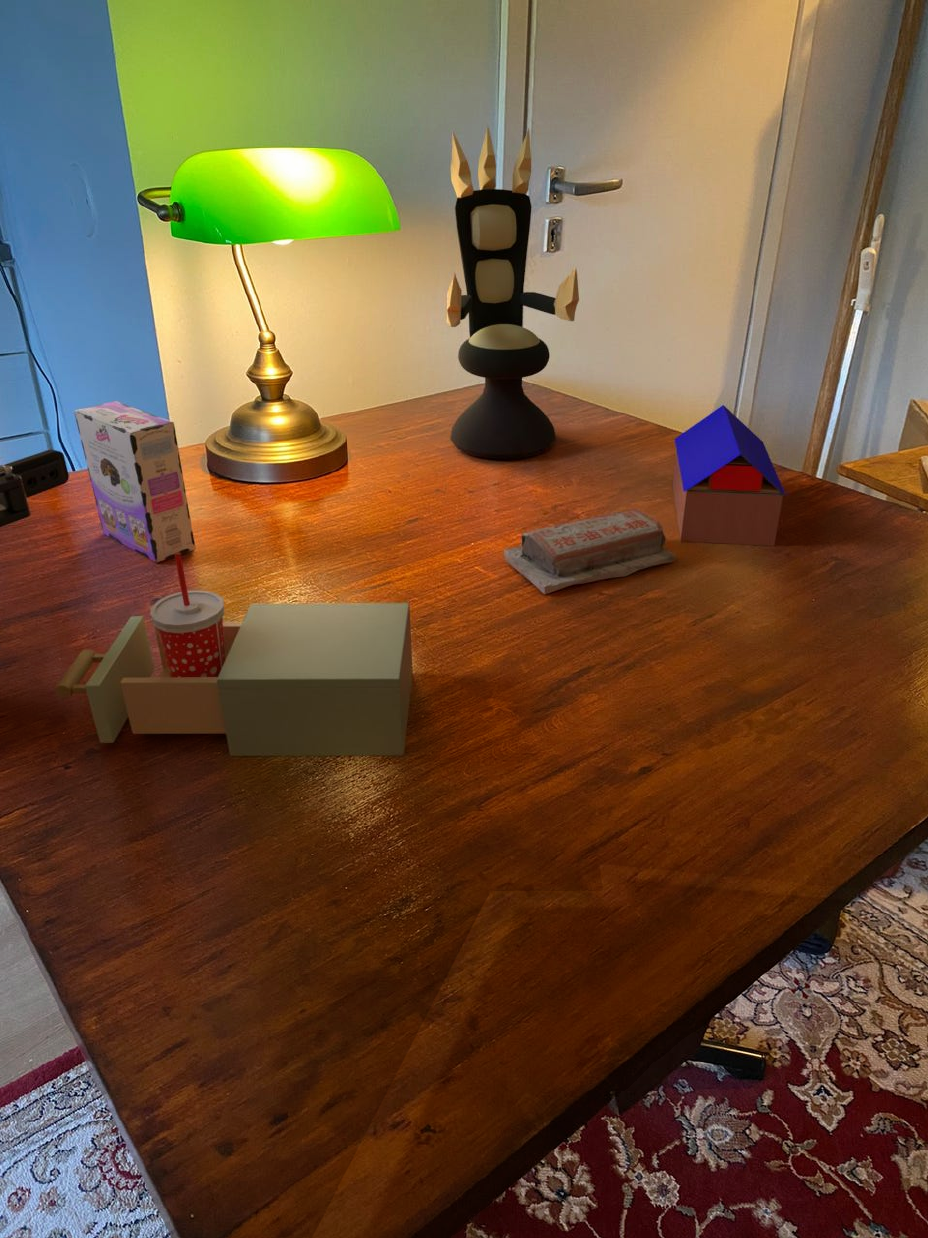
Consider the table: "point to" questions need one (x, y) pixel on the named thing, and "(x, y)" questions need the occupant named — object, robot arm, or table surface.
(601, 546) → the packaged product
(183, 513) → the candy box
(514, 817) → the table surface
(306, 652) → the cabinet
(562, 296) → the spiked throne chair
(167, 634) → the beverage cup
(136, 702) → the drawer
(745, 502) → the house
